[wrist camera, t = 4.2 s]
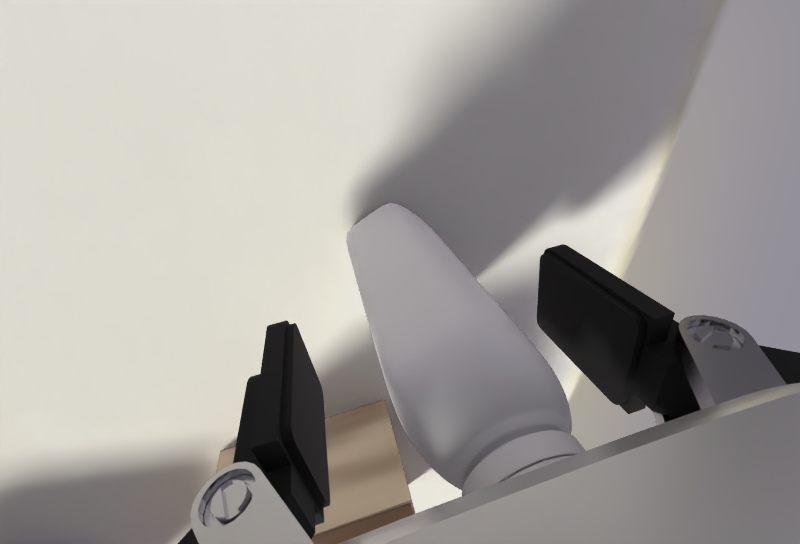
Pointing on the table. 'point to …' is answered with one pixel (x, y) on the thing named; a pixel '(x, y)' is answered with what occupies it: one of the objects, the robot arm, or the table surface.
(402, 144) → the table surface
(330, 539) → the tower top
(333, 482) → the tower base
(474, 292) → the eye dropper bottle
